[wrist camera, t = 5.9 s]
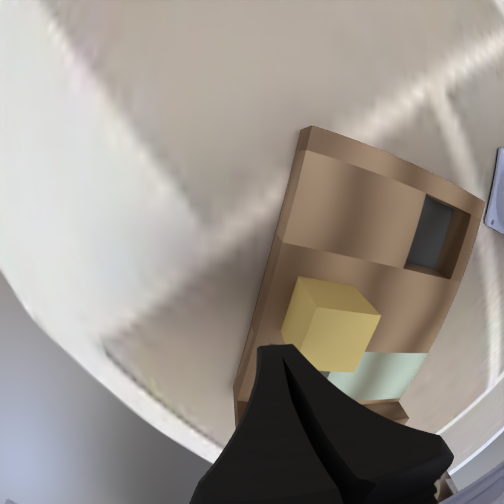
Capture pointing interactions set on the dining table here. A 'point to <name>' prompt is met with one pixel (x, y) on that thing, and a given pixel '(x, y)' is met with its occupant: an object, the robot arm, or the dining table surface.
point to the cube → (329, 324)
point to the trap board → (366, 259)
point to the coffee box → (445, 487)
